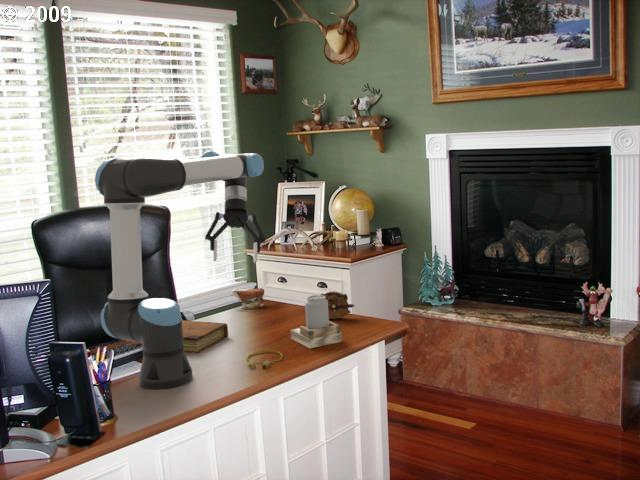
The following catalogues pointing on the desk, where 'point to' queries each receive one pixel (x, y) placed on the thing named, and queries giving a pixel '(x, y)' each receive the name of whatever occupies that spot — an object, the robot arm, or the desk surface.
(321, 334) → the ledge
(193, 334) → the diary
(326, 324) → the can
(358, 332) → the desk surface
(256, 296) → the bull figurine
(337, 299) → the wooden carving
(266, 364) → the torc
